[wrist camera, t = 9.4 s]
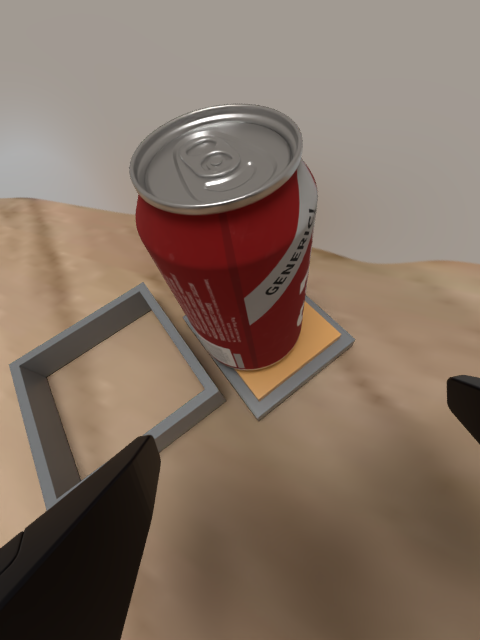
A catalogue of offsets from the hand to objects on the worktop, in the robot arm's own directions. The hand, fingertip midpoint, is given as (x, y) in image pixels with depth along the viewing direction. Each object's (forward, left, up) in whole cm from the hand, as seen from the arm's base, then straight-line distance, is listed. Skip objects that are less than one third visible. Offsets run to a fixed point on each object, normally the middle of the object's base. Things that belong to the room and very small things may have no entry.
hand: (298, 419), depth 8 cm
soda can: (+7, -3, -8) cm, 11 cm away
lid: (+7, -3, -9) cm, 12 cm away
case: (+10, +7, -9) cm, 15 cm away
